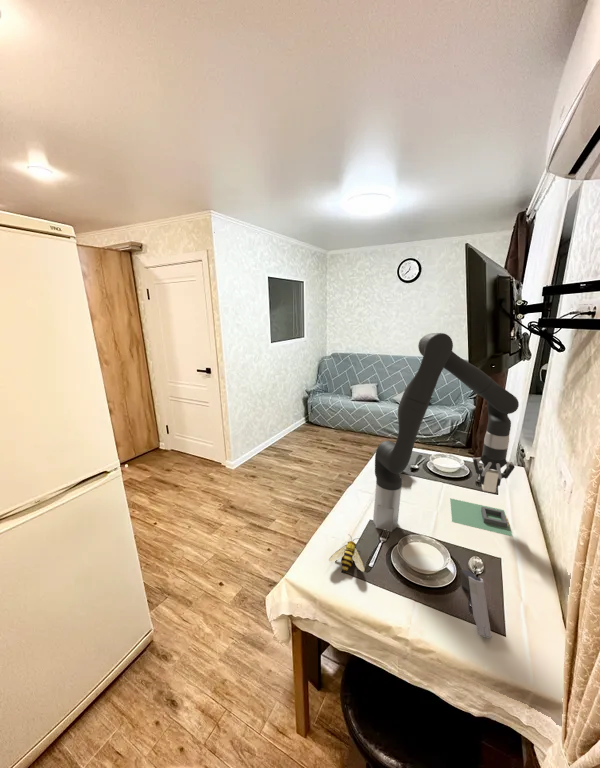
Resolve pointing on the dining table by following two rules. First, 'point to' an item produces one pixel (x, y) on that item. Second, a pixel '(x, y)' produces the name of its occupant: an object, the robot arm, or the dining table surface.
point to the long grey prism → (477, 601)
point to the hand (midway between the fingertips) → (489, 484)
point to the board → (480, 517)
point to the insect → (348, 556)
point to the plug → (490, 481)
